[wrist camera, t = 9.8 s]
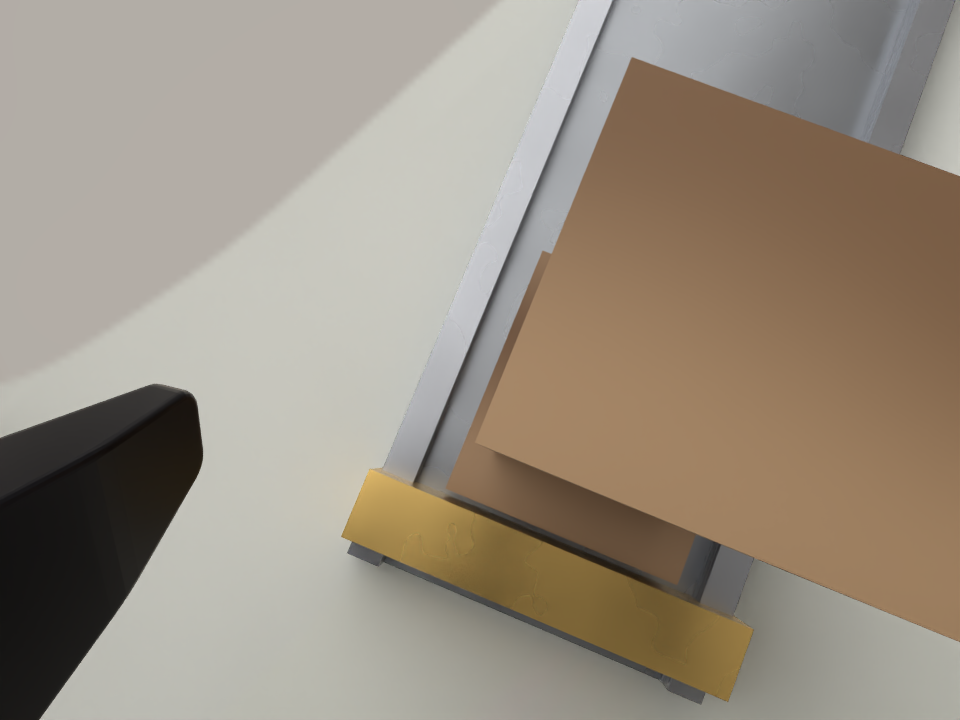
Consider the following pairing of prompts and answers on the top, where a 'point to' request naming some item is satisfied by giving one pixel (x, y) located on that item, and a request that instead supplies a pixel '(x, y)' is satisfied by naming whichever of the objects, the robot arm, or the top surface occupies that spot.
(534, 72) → the top surface
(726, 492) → the plate
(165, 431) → the robot arm
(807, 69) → the track
